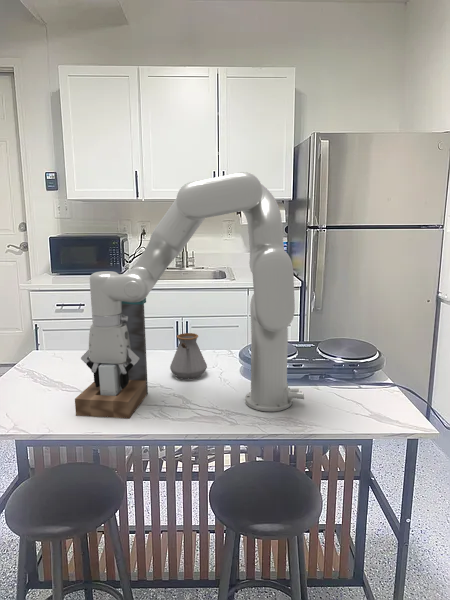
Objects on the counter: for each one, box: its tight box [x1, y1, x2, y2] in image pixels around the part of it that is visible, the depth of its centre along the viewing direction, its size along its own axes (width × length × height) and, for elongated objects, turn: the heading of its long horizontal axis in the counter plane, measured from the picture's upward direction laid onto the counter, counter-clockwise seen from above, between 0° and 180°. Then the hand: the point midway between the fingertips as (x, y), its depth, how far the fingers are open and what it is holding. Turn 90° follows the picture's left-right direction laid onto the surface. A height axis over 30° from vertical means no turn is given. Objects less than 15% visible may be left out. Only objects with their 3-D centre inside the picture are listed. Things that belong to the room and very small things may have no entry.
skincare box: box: [99, 363, 123, 396], centre depth 119 cm, size 6×4×12 cm
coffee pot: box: [169, 332, 208, 381], centre depth 135 cm, size 21×12×15 cm, turn 179°
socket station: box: [74, 297, 149, 419], centre depth 119 cm, size 14×18×28 cm
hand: (111, 385), depth 119 cm, fingers open, 6 cm apart
